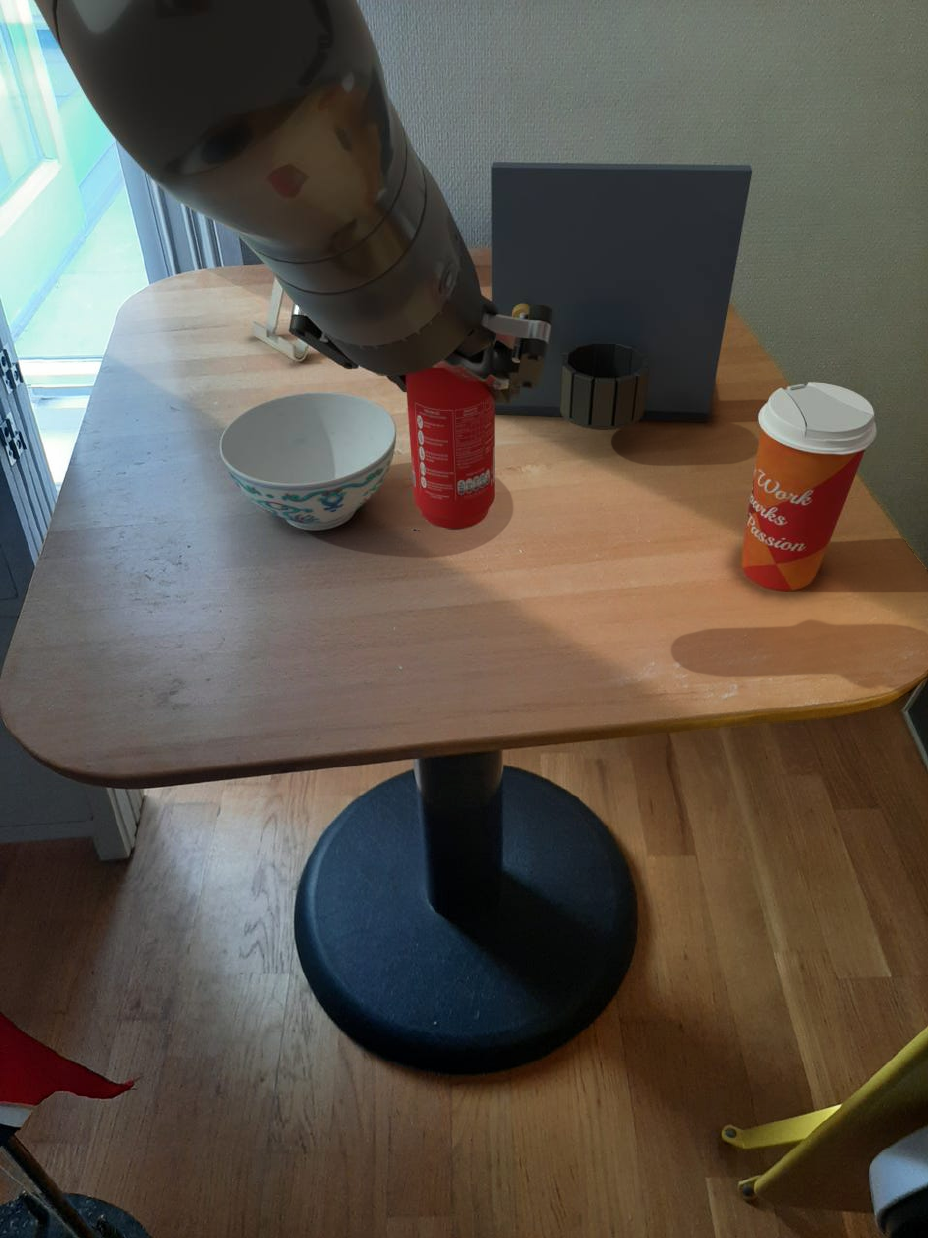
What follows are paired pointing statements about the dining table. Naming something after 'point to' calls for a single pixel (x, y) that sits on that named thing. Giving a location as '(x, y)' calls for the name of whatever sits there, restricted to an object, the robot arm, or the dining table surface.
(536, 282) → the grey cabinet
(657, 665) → the dining table surface
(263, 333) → the tablet stand
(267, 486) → the chinaware
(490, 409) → the beverage can
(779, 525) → the coffee cup
